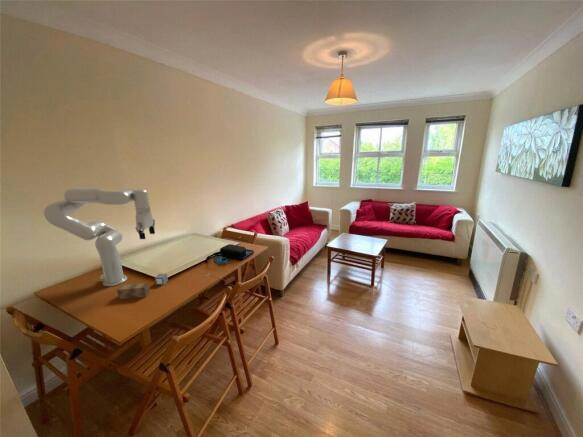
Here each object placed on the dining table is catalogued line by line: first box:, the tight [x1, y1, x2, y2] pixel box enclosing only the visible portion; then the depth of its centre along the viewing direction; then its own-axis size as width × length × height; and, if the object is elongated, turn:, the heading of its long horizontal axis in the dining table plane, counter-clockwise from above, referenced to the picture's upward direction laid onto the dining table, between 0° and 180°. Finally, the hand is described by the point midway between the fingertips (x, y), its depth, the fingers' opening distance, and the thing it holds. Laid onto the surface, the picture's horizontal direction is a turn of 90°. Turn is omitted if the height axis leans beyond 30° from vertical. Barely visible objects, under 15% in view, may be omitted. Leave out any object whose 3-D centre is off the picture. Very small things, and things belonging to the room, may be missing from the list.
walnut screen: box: [116, 282, 151, 300], centre depth 136 cm, size 14×5×6 cm, turn 99°
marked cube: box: [154, 273, 169, 286], centre depth 149 cm, size 5×5×5 cm
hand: (147, 236), depth 149 cm, fingers open, 9 cm apart
